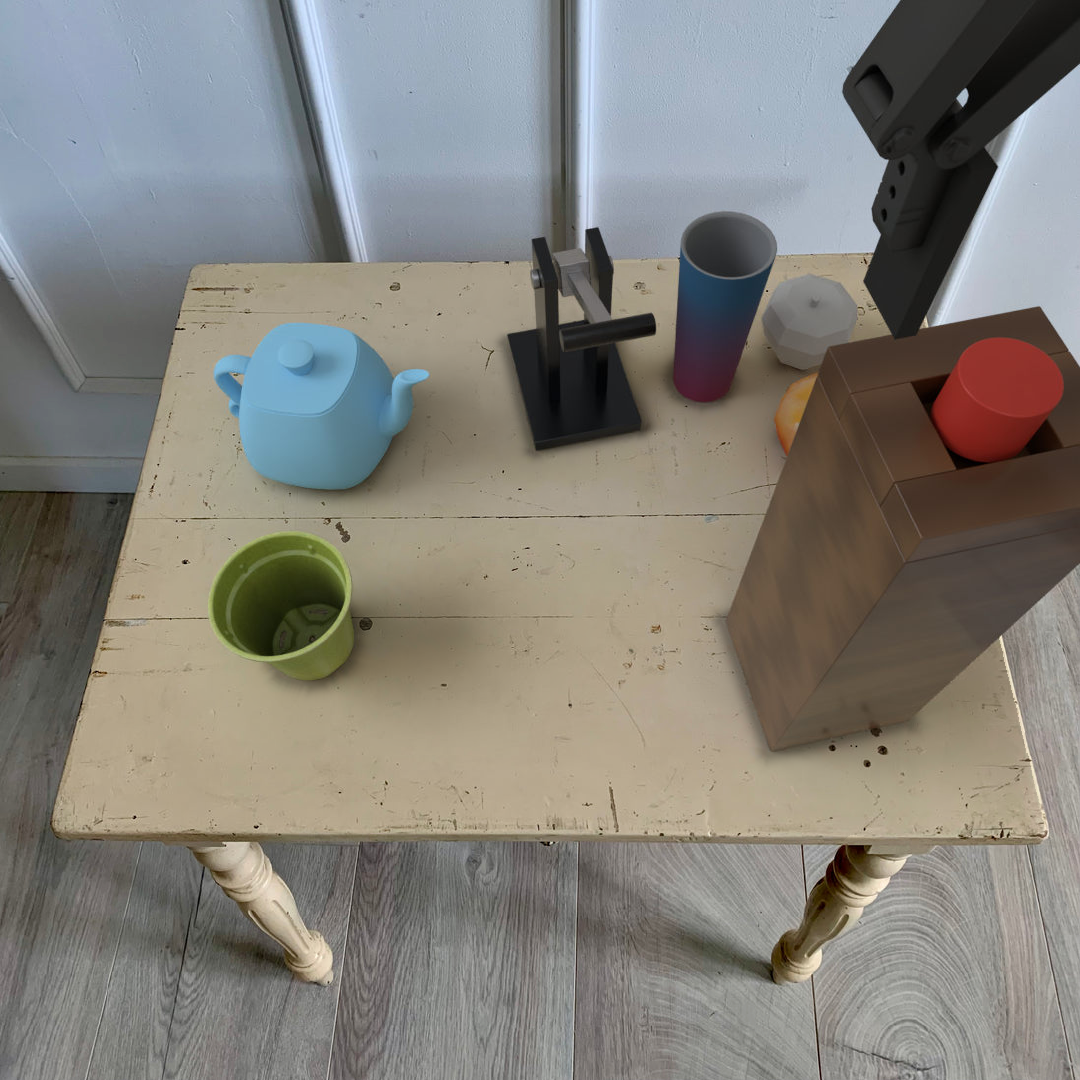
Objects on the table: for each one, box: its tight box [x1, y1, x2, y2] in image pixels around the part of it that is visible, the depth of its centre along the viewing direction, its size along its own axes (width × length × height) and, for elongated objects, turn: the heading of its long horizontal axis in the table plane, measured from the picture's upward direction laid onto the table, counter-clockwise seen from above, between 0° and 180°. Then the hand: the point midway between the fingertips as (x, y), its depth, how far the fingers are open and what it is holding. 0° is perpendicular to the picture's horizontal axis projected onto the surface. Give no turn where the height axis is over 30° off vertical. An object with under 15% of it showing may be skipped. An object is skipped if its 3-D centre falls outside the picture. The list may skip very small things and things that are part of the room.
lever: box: [551, 247, 657, 352], centre depth 61 cm, size 13×6×2 cm, turn 12°
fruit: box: [773, 372, 818, 457], centre depth 70 cm, size 8×8×8 cm
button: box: [931, 338, 1064, 463], centre depth 36 cm, size 4×4×3 cm
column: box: [725, 305, 1080, 752], centre depth 50 cm, size 10×10×30 cm
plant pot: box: [207, 530, 355, 681], centre depth 62 cm, size 9×9×9 cm
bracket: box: [506, 226, 643, 451], centre depth 70 cm, size 12×9×15 cm
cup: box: [672, 210, 778, 403], centre depth 70 cm, size 7×7×15 cm
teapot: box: [213, 322, 430, 491], centre depth 70 cm, size 13×11×18 cm
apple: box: [760, 273, 858, 371], centre depth 74 cm, size 8×8×7 cm
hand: (1072, 273), depth 30 cm, fingers open, 12 cm apart
